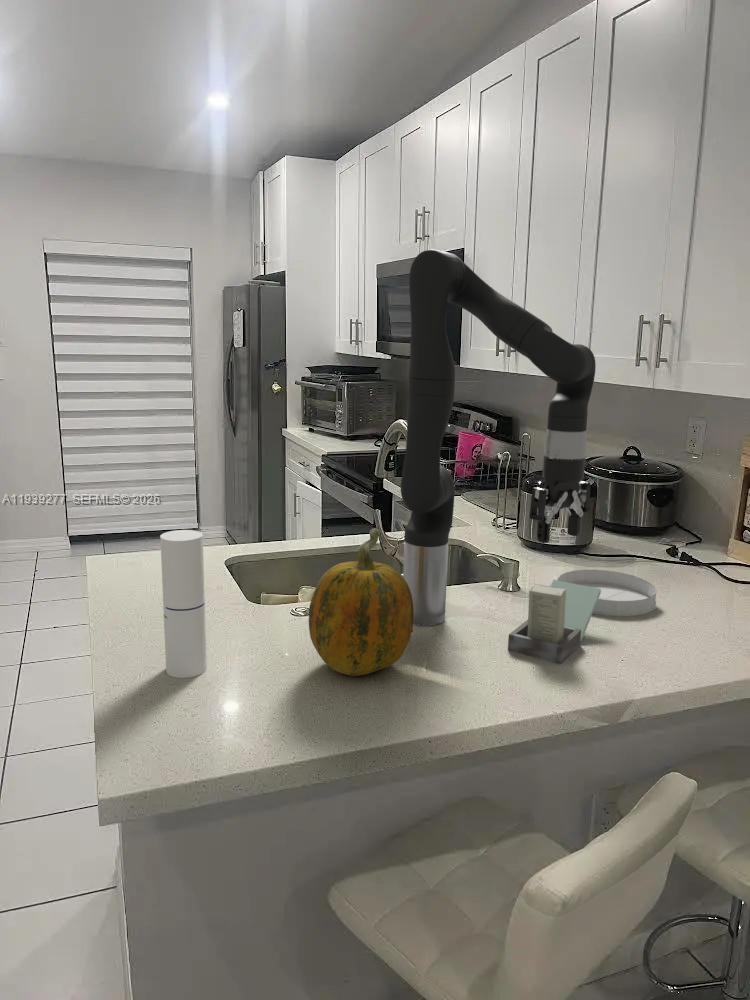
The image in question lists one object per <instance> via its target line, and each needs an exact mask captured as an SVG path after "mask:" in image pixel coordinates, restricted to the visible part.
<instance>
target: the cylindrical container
mask: <svg viewBox="0 0 750 1000" xmlns="http://www.w3.org/2000/svg"><path fill="white" fill-rule="evenodd" d="M159 536H160V556H161V557H160V558H161V559H160V560H161V582H162V583H161V584H162V603H163V604H162V606H163V627H164V630H163V631H164V649H165V650H164V654H165V671H166V674H167V675H168V676H170V677H173V678H176V679H177V678H178V679H188V678H194V677H197V676H201V675H202V674H204V673H205V672H206V671H207V670H208V663H207V662H208V661H207V660H208V657H207V633H206V631H207V630H206V629H207V628H206V593H205V569H204V568H205V566H204V565H205V564H204V534H203V533H202V532H201V531H198V530H193V529H178V530H170V531H166V532H163V533H162V534H160V535H159Z"/></svg>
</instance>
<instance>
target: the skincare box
mask: <svg viewBox="0 0 750 1000" xmlns="http://www.w3.org/2000/svg"><path fill="white" fill-rule="evenodd" d="M550 586H551V585H542V584H534V585H533V586H532V587H531V588H530V589H529V591H528V611H527V612H528V613H527V616H528V617H527V620H528V633H527V637H531V638H534V639H538V640H542V641H546V642H550V643H554V644H558V645H559V644H560V643H561V642H562V641H563V637H564V621H565V603H566V589H563V588H556V587H550Z"/></svg>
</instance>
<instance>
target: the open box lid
mask: <svg viewBox="0 0 750 1000" xmlns="http://www.w3.org/2000/svg"><path fill="white" fill-rule="evenodd" d="M549 586H550V587H556V588H563V589H566V603H565V621H564V626H567V627H572V628H576V629H580V630H581V639H580V644H581V643H582V641H583V638H584V637H585V633H586V631H587V628H588V625H589V623H590V621H591V618H592V616H593V614H594V613H593V611H594V608H595V606H596V603H597V601H598V599H600V598H599V596H600V593H601V589H598V588H593V587H588V586H583V585H578V584H573V583H569V582H564V581H559V580H558V579H553V580H552V582H551V584H550V585H549Z"/></svg>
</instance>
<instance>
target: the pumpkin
mask: <svg viewBox="0 0 750 1000" xmlns="http://www.w3.org/2000/svg"><path fill="white" fill-rule="evenodd" d="M381 531H382V529H377V527H374V528H372V529H370V530H369V533H368V534H369V538H370V539H368V540H367V541H364V542H363V543H362V544H360V545H359V547H358V552H357V560H356V561H345V562H341V563H338V564H336V565H334V566H332V567H331V568H329V569H328V570H327V571H325V573H324V574H323V575H322V576H321V578H320V579H319V581H318V583H317V585H316V587H315V589H314V591H313V594H312V596H311V599H310V603H309V609H308V630H309V637H310V640H311V643H312V645H313V647H314V649H315V651H316V652H317V654H318V655H319V657H320V658H321V660H322V661H323V662H324V663H325V664H326V665H327V667H329V668H330V669H332V670H334V671H336V672H338V673H340V674H343V675H347V676H355V677H356V676H357V677H359V676H364V675H369V674H372V673H374V672H377V671H380V670H383V669H386V668H389V667H391V666H393V665H394V664H395V663H396V662H398V660H399V659H400V658H401V657H402V656H403V654H404V653H405V651H406V649H407V648H408V646H409V644H410V641H411V637H412V634H413V633H414V632H413V631H414V624H413V621H414V609H413V599H412V594H411V591H410V588H409V586H408V584H407V582H406V580H405V579H404V578H403V577H402V575H401V574H400V572H398V571H397V570H396V569H394V568H393V567H392V566H390V565H388V564H385V563H380V562H377V561H373V558H372V557H373V556H372V555H371V554H370V551H371V550H372V549H373V548H374V547H375V546H376V544H377V542H378V540H379V537H380V536H381V534H380V532H381Z"/></svg>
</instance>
